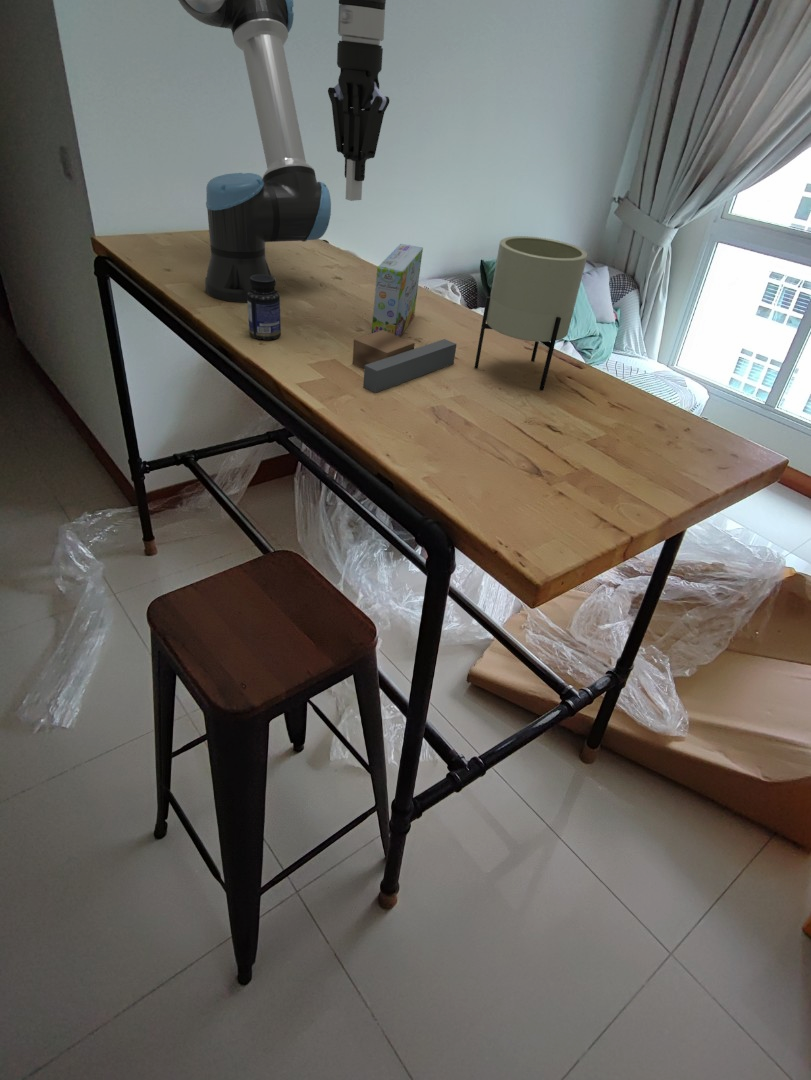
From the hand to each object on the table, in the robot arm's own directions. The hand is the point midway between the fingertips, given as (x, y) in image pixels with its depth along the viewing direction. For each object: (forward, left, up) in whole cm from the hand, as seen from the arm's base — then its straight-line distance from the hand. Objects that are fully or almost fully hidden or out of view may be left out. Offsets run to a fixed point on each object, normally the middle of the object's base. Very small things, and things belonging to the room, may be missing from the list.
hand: (353, 199), depth 121 cm
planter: (+36, +11, -25) cm, 45 cm away
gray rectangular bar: (+24, -7, -24) cm, 35 cm away
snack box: (+6, +8, -25) cm, 27 cm away
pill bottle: (-6, -17, -25) cm, 31 cm away
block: (+18, -8, -25) cm, 32 cm away
